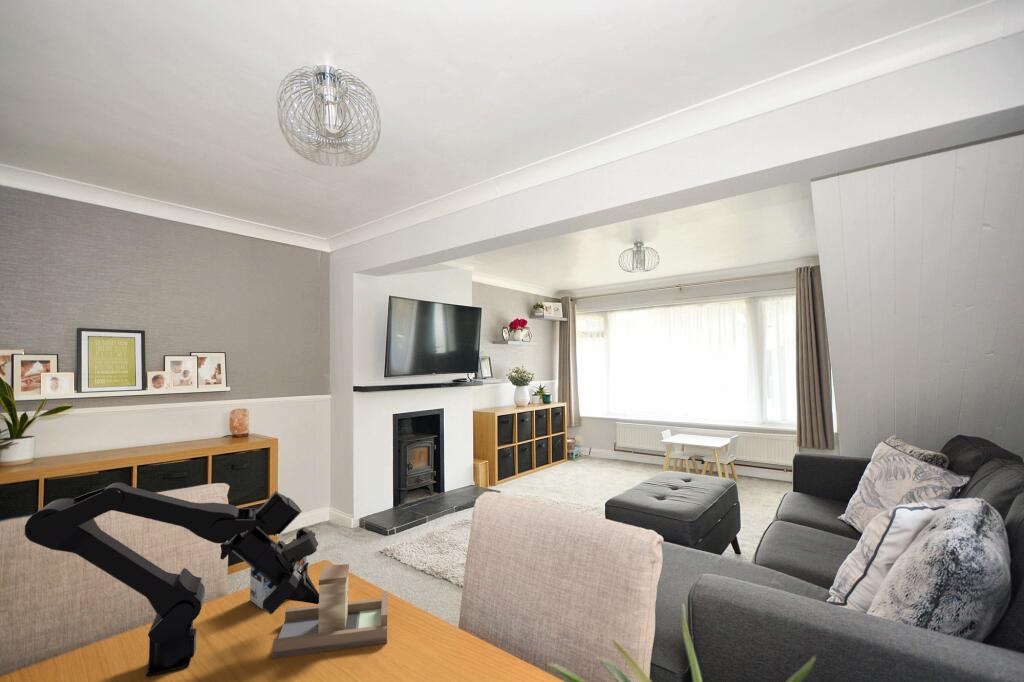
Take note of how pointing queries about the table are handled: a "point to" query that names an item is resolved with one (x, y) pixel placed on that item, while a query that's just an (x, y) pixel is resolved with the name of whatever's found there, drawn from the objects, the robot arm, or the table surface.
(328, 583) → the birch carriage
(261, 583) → the light bulb box
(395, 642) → the table surface
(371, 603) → the box
